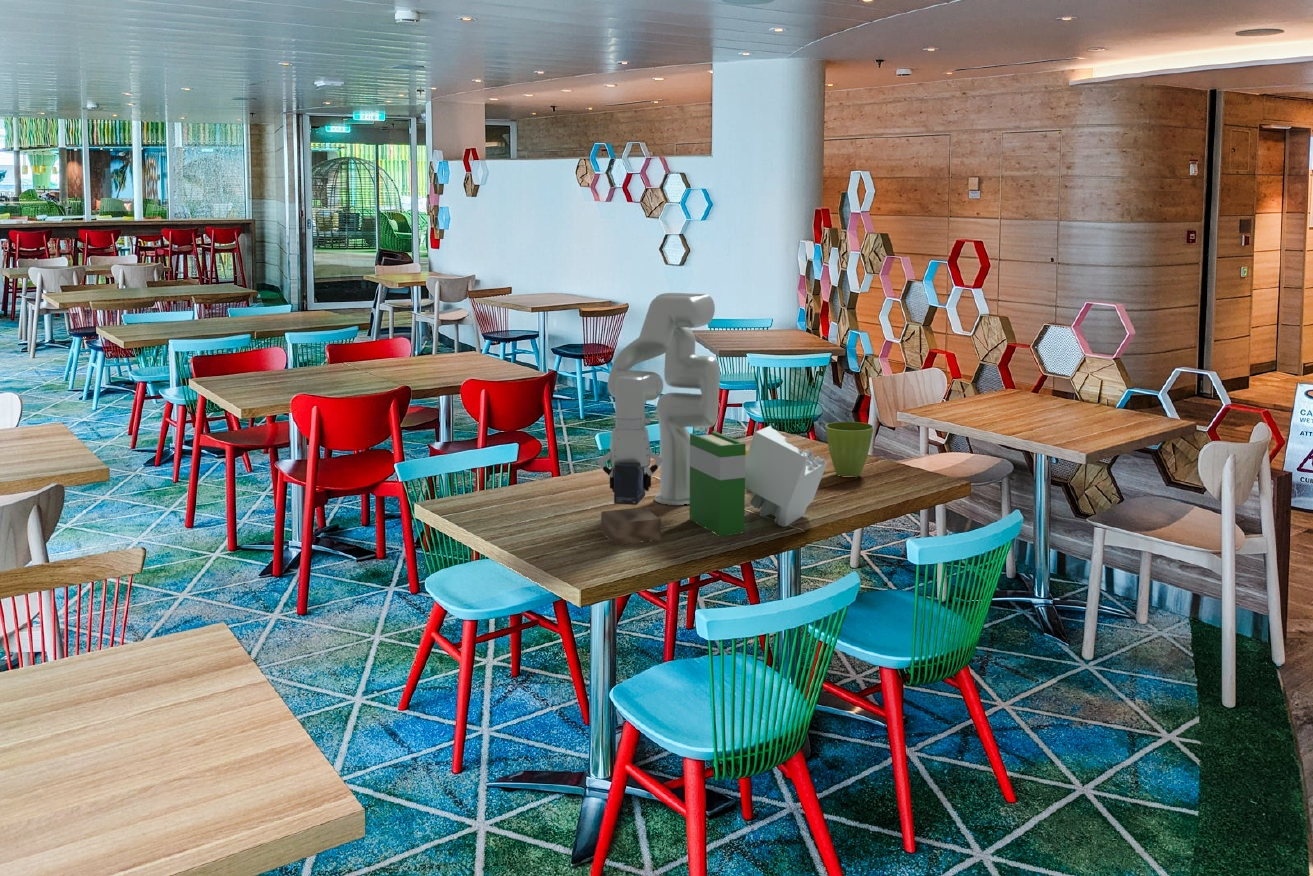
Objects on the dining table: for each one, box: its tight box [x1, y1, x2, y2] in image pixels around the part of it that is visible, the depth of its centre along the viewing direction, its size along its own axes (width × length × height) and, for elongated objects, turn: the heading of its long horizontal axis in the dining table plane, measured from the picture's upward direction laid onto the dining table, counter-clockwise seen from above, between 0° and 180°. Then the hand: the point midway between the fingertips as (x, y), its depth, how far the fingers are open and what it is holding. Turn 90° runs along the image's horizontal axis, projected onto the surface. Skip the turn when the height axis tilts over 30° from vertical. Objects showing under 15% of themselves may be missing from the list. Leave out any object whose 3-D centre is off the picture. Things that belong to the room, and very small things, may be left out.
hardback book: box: [689, 430, 747, 537], centre depth 308 cm, size 18×7×24 cm, turn 24°
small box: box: [613, 462, 646, 506], centre depth 298 cm, size 11×6×10 cm, turn 169°
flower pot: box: [825, 421, 874, 477], centre depth 365 cm, size 15×15×16 cm
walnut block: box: [600, 506, 662, 546], centre depth 301 cm, size 12×12×6 cm
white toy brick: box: [745, 425, 828, 528], centre depth 314 cm, size 20×16×25 cm
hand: (630, 490), depth 298 cm, fingers closed on small box, 8 cm apart
